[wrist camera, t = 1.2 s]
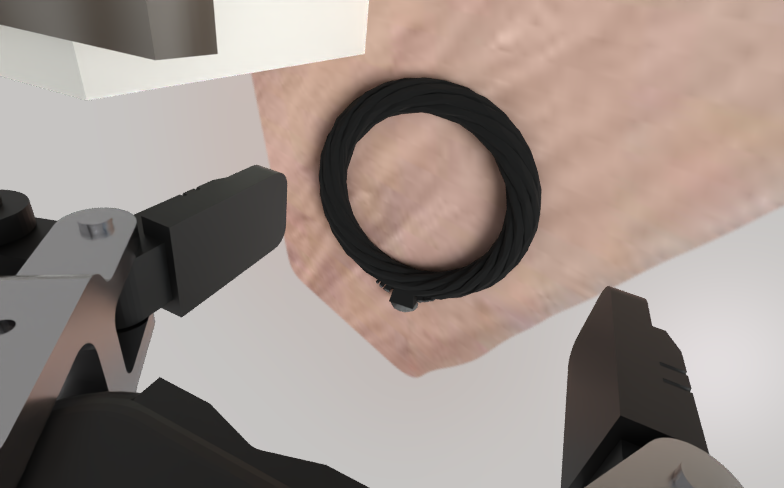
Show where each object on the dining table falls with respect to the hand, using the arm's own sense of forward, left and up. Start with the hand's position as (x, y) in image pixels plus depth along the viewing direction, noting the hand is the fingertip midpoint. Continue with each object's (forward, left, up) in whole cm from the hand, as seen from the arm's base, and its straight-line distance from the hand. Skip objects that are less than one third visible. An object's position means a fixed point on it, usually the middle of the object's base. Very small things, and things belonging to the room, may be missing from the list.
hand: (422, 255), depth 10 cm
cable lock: (+19, -7, -39) cm, 43 cm away
